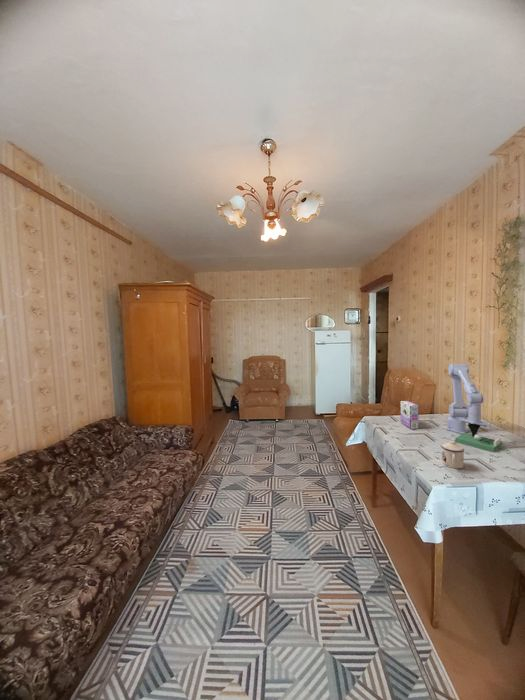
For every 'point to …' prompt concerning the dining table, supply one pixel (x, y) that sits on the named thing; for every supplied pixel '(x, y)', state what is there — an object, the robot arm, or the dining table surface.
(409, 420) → the candy box
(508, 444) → the dining table surface
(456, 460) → the teacup with lid
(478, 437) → the ball
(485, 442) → the green
